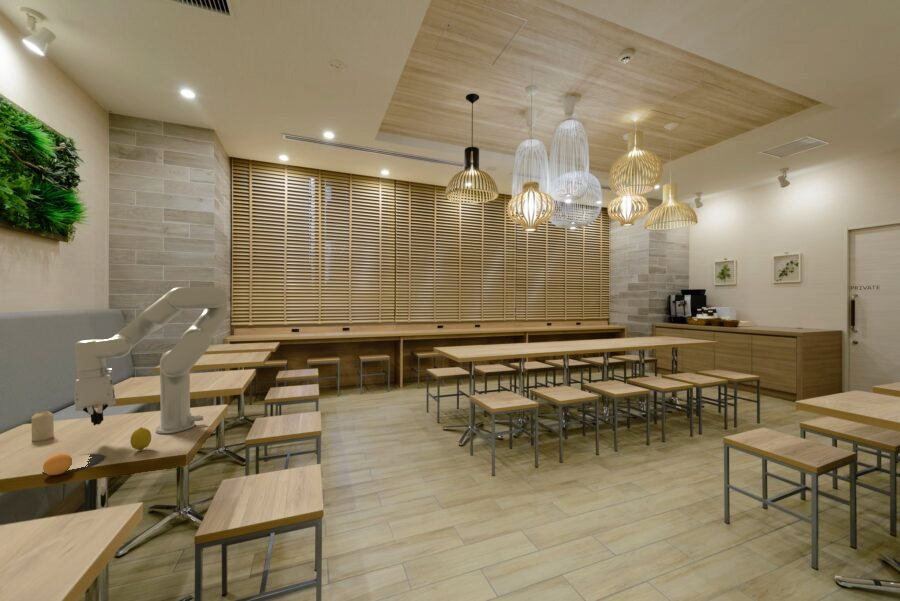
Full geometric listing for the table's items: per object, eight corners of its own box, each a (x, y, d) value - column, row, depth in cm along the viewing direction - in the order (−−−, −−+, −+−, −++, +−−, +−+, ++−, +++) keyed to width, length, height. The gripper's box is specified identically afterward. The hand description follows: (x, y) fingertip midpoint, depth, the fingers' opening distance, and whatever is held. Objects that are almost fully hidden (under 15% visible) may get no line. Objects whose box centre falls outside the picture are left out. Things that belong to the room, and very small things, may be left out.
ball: (66, 454, 110) (63, 475, 109) (77, 450, 115) (75, 470, 114) (39, 457, 108) (36, 479, 107) (52, 452, 113) (49, 473, 112)
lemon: (139, 454, 124) (139, 430, 124) (126, 453, 126) (126, 429, 125) (155, 447, 130) (155, 425, 130) (142, 446, 131) (142, 424, 131)
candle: (28, 442, 135) (27, 415, 134) (37, 437, 140) (36, 410, 139) (48, 440, 137) (48, 413, 137) (57, 434, 142) (56, 408, 142)
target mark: (110, 451, 127) (110, 450, 127) (98, 467, 115) (98, 466, 115) (52, 460, 120) (52, 460, 120) (33, 479, 108) (33, 478, 108)
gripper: (122, 368, 141) (126, 416, 142) (67, 375, 133) (72, 425, 134) (117, 372, 134) (122, 421, 135) (59, 379, 126) (65, 432, 127)
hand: (97, 423), depth 134 cm, fingers closed
